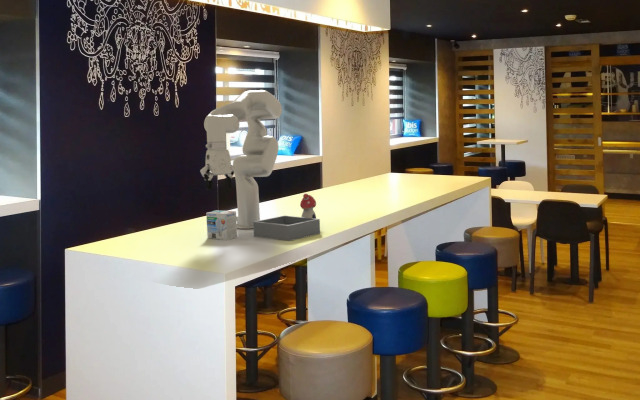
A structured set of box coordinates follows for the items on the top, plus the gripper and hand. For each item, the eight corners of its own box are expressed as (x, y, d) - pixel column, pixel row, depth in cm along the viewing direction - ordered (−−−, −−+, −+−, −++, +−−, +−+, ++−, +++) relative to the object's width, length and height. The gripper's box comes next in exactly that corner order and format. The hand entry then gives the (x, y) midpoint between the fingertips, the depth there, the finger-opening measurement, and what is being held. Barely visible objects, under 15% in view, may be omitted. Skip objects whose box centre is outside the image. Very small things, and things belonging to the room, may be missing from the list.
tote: (254, 236, 284) (253, 221, 283) (285, 229, 297) (284, 215, 297) (289, 240, 271) (288, 225, 270) (320, 233, 284) (319, 218, 283)
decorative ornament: (308, 229, 295) (307, 194, 293) (296, 228, 298) (294, 193, 296) (321, 226, 302) (320, 191, 300) (309, 225, 306) (308, 191, 304)
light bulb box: (207, 238, 283) (205, 212, 282) (217, 235, 289) (216, 209, 288) (227, 240, 278) (226, 213, 276) (238, 237, 284) (236, 211, 282)
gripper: (206, 147, 270) (208, 191, 272) (239, 145, 282) (241, 187, 284) (193, 147, 275) (196, 191, 277) (227, 145, 287) (229, 186, 289)
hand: (219, 189), depth 280 cm, fingers open, 9 cm apart
